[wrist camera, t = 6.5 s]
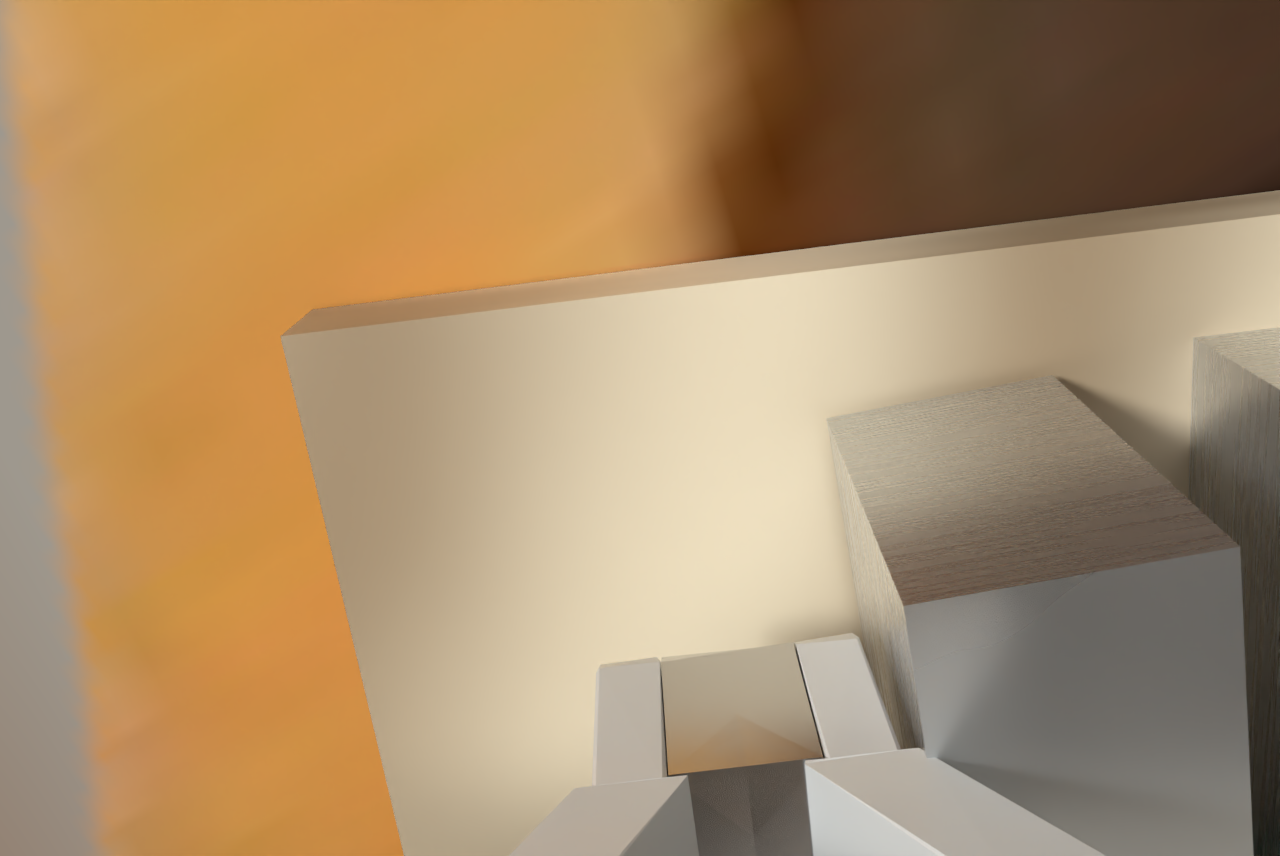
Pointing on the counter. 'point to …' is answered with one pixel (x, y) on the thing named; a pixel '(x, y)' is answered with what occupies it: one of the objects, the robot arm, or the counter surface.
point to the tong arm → (1051, 616)
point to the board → (691, 459)
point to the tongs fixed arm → (1246, 527)
